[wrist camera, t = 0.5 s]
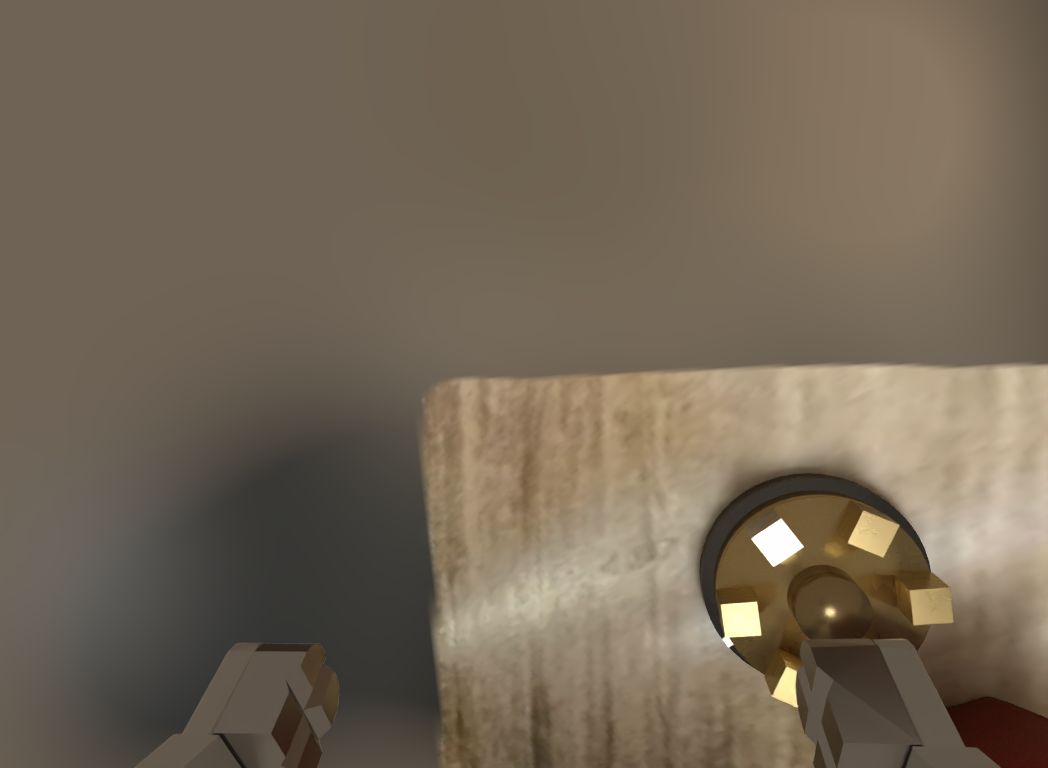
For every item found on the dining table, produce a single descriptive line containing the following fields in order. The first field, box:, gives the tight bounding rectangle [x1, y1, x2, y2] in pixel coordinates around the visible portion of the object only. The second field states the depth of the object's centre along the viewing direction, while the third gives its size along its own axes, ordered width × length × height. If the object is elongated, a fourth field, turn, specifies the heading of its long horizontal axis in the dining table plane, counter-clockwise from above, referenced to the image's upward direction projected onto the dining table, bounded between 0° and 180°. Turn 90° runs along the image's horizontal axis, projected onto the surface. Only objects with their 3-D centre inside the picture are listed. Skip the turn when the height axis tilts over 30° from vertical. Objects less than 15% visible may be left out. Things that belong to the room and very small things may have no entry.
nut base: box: [700, 474, 931, 670], centre depth 58 cm, size 20×20×2 cm
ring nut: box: [713, 490, 954, 708], centre depth 55 cm, size 18×18×6 cm
